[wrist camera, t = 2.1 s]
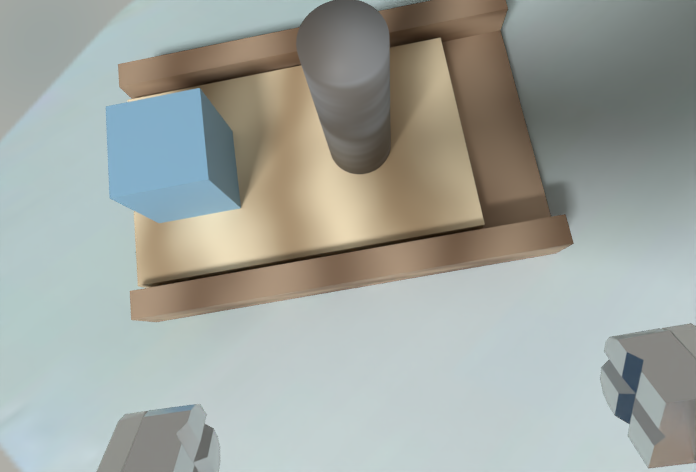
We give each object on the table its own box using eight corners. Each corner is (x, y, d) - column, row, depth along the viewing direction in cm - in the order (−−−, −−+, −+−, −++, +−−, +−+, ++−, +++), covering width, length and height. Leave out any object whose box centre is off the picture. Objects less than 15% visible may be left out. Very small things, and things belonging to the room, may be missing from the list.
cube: (232, 130, 29) (199, 87, 24) (241, 208, 28) (208, 179, 23) (153, 146, 29) (105, 106, 24) (159, 223, 28) (109, 198, 23)
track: (492, 17, 31) (501, -14, 28) (555, 253, 27) (573, 243, 25) (141, 87, 32) (118, 64, 30) (156, 322, 29) (131, 319, 26)
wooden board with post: (439, 47, 30) (464, -118, 19) (481, 228, 27) (539, 154, 16) (135, 107, 31) (0, -17, 20) (146, 287, 28) (-4, 254, 17)
